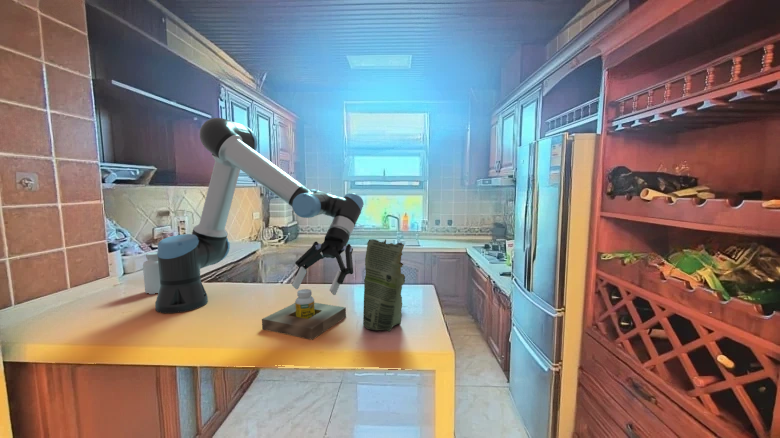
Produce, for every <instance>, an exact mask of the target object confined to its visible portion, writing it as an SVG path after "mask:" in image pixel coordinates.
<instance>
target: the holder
mask: <svg viewBox="0 0 780 438" xmlns="http://www.w3.org/2000/svg"><path fill="white" fill-rule="evenodd" d="M314 308H315V315H314V316H312V317H311V318H309V319H305V318H300V317H296V304H295V302H294V303H291V304H290V305H288V306H285V307H284V308H281V309H280V310H277V311H275V312H273V313H272V314H269V315H267V316H265V317H263V318H261V326H262V327H261V328H262V330H264V331H270V332H274V333H278V334H284V335H288V336H293V337H297V338H302V339H306V340H307V339H308V340H312V341H313V340H314V339H316V338H317V337H318V336H320V335H321V334H323V333H325V332H326V331H327V330H329V329H330V328H331V327H333V326H335V325H336V324H338V323H339V322H341V321H342V320H343V319H345V318H347V307H345V306H339V305H333V304H332V305H331V304H326V303H320V302H314Z"/></svg>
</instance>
